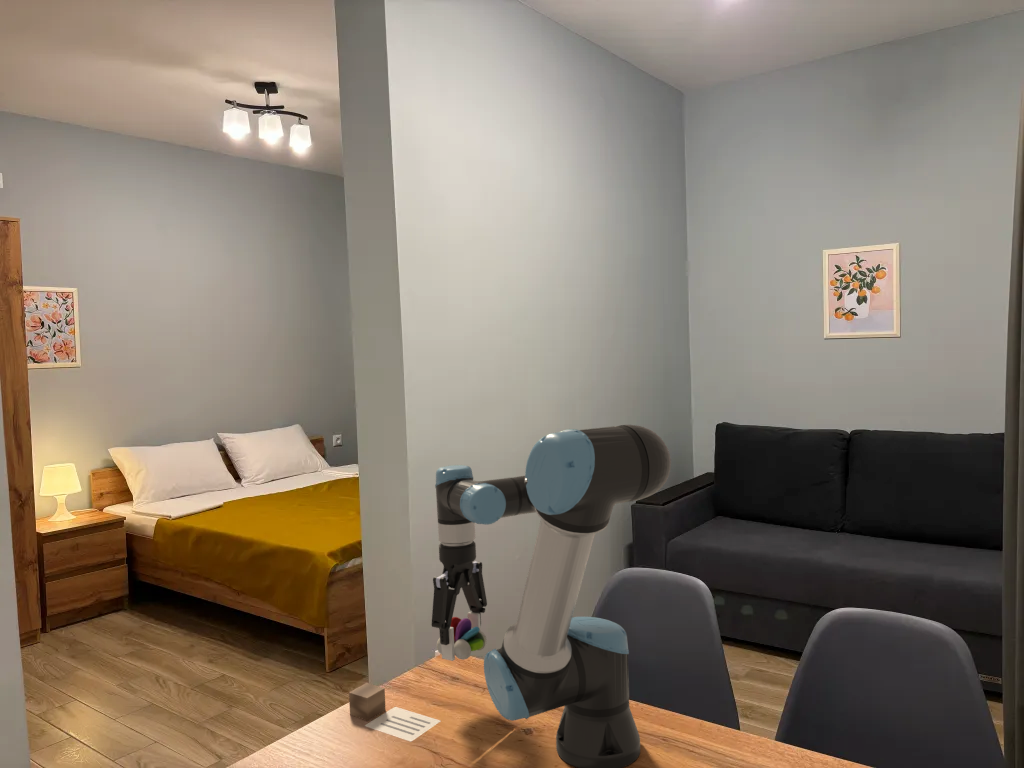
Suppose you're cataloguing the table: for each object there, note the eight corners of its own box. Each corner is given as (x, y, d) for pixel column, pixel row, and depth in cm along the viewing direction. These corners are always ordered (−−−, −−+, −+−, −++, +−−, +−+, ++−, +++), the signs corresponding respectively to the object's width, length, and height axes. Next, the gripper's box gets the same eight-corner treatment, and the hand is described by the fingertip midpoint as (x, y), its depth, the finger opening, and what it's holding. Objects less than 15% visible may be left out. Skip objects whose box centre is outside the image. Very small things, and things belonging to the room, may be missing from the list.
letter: (441, 722, 148) (441, 720, 148) (411, 743, 140) (411, 741, 140) (395, 708, 155) (395, 706, 155) (364, 727, 147) (364, 725, 147)
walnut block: (385, 712, 153) (384, 688, 153) (368, 722, 149) (367, 698, 149) (367, 706, 156) (366, 682, 156) (350, 716, 152) (349, 692, 152)
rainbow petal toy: (456, 641, 161) (455, 608, 161) (493, 650, 156) (492, 615, 155) (430, 655, 154) (429, 620, 154) (468, 664, 148) (467, 628, 148)
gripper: (472, 529, 165) (477, 631, 166) (408, 552, 147) (414, 666, 148) (501, 532, 161) (505, 637, 162) (438, 556, 143) (444, 673, 144)
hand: (462, 651), depth 155 cm, fingers closed on rainbow petal toy, 8 cm apart
